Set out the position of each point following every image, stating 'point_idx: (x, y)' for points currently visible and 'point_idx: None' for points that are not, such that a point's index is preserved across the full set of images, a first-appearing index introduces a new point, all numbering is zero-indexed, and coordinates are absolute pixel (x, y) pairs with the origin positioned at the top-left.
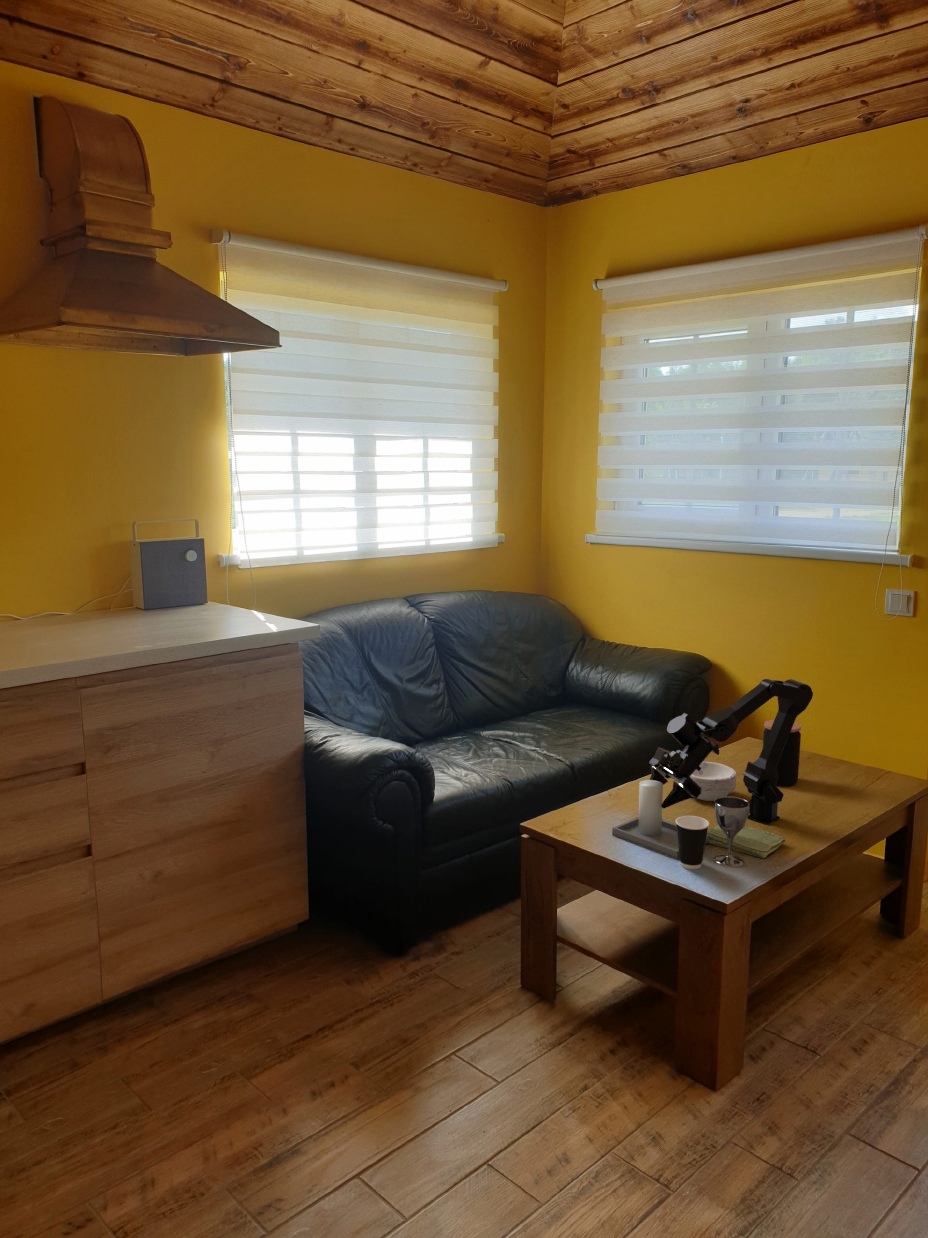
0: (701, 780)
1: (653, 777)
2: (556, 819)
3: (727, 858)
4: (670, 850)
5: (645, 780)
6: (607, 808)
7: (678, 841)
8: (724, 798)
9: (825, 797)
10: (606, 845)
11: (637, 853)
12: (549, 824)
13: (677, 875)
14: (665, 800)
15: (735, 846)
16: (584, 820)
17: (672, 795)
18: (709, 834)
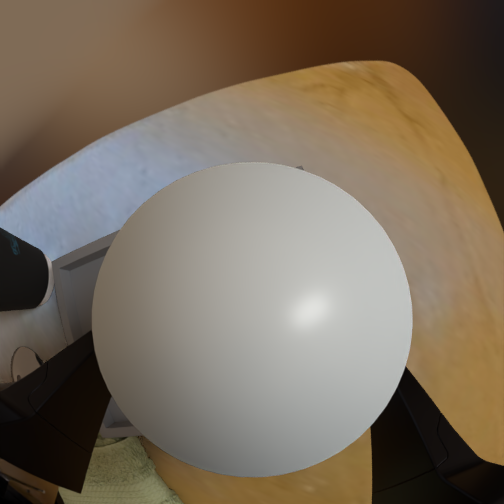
0: None
1: (435, 463)
2: (433, 120)
3: (20, 373)
4: (69, 254)
5: (403, 329)
6: (479, 288)
7: (1, 228)
8: None
9: None
10: (234, 128)
11: (143, 182)
12: (407, 92)
13: (27, 215)
14: (88, 339)
15: None
16: (424, 172)
17: (34, 375)
18: (103, 442)
